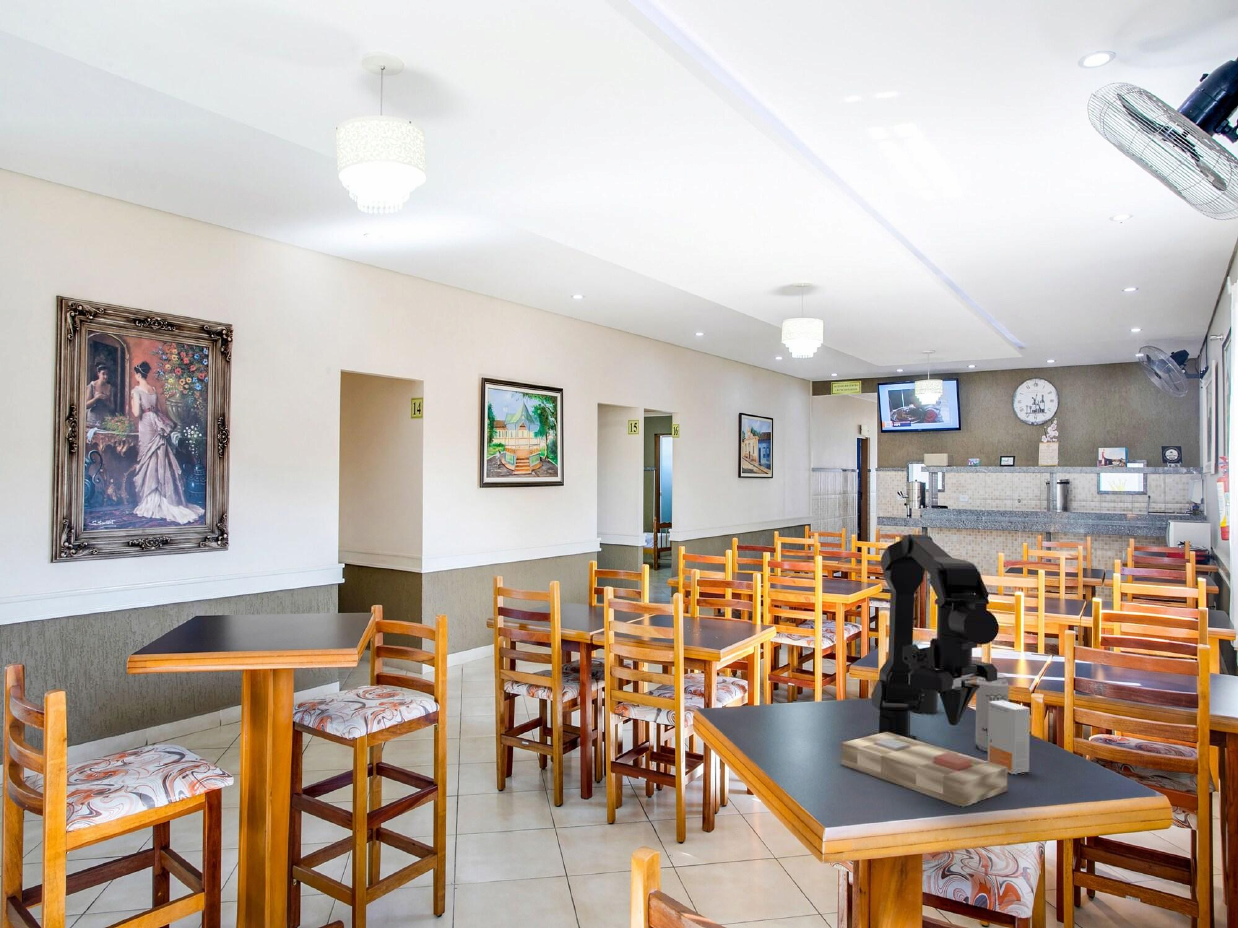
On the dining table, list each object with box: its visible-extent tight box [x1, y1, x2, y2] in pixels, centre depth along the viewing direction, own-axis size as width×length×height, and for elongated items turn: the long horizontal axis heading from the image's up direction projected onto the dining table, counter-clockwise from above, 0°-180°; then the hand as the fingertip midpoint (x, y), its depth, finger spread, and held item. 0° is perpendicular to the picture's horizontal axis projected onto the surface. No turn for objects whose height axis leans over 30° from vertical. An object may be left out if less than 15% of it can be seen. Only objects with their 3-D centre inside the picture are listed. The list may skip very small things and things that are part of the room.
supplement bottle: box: [912, 666, 939, 715], centre depth 189 cm, size 7×7×12 cm
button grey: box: [875, 738, 910, 751], centre depth 146 cm, size 4×4×4 cm
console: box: [840, 732, 1008, 808], centre depth 141 cm, size 14×24×4 cm, turn 36°
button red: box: [934, 753, 972, 771], centre depth 137 cm, size 4×4×4 cm
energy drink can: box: [975, 672, 1010, 753], centre depth 160 cm, size 6×6×15 cm
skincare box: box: [986, 700, 1031, 775], centre depth 148 cm, size 6×4×12 cm
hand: (953, 724), depth 137 cm, fingers closed
